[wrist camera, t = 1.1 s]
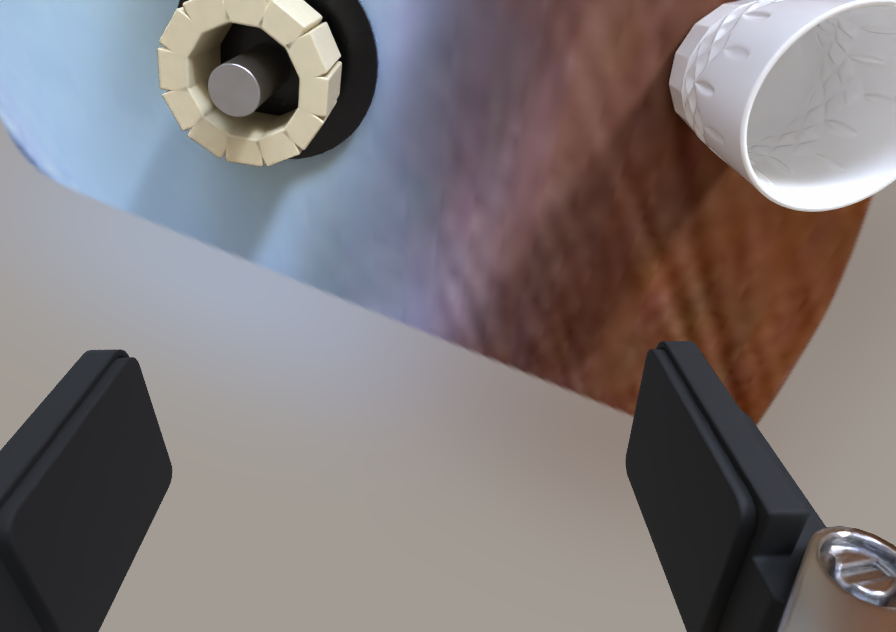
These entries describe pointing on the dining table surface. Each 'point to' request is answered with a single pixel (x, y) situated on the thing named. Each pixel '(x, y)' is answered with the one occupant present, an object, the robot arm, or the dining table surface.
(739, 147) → the white cup
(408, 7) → the dining table surface
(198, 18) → the tape roll
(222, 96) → the tape stand
